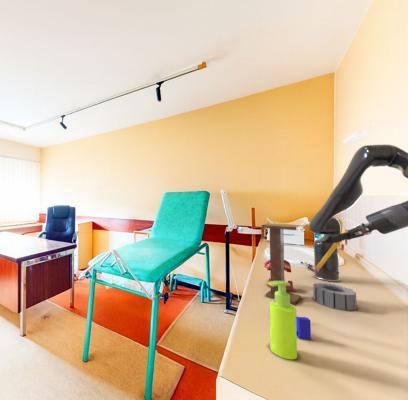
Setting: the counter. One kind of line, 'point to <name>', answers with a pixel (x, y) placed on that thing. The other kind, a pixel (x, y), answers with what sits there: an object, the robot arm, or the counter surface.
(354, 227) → the robot arm
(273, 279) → the brown pedestal stand
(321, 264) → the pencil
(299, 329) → the cable clip
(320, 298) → the grey segmented ring
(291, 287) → the anatomical model
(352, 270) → the counter surface
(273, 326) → the soap dispenser
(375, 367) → the counter surface
